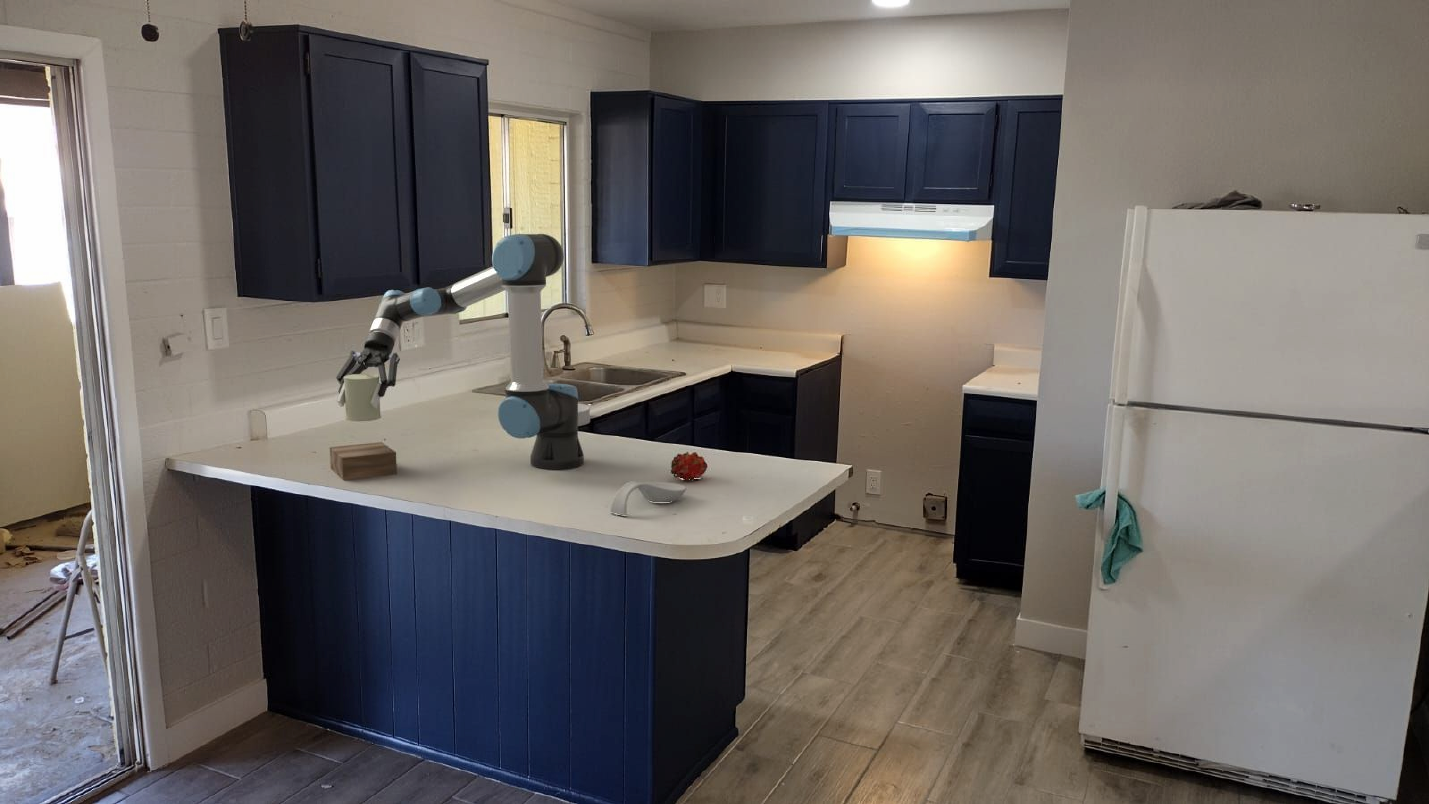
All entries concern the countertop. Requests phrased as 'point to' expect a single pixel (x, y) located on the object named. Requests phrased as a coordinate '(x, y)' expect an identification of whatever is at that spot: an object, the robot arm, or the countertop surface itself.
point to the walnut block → (363, 460)
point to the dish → (583, 414)
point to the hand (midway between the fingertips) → (356, 404)
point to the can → (361, 397)
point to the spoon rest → (646, 494)
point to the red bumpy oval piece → (688, 466)
